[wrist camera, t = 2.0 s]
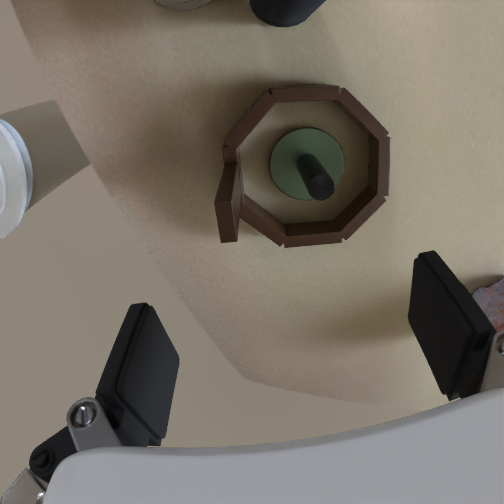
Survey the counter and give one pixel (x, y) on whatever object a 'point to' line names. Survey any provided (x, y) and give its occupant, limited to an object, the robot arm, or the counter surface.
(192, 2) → the thermos bottle
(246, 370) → the counter surface
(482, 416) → the robot arm
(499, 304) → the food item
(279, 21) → the navy water bottle
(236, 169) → the ring
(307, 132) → the post
